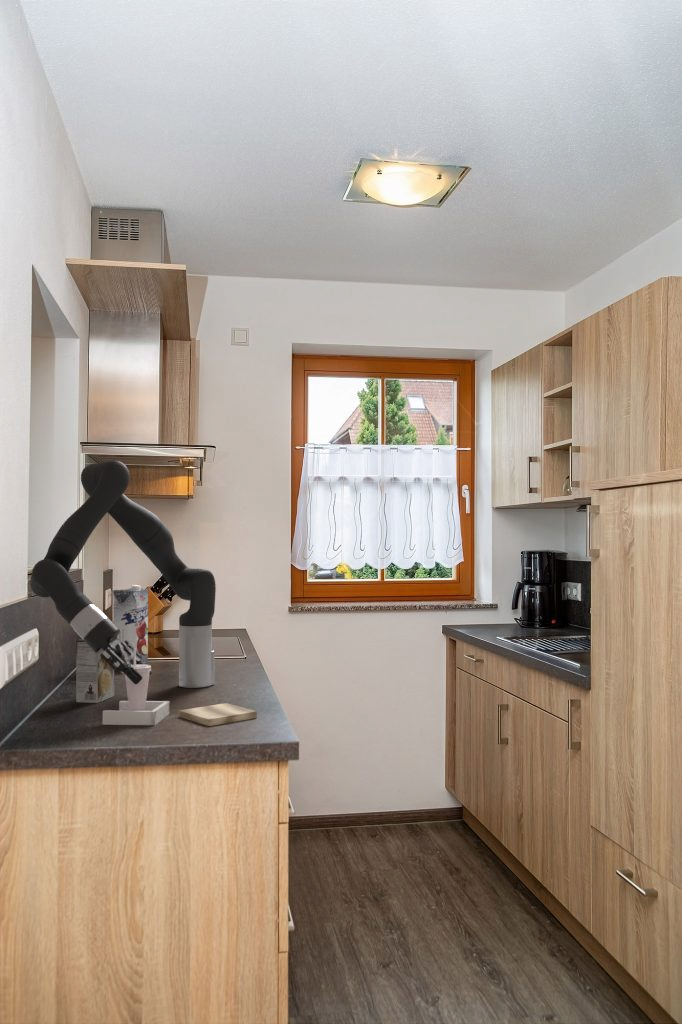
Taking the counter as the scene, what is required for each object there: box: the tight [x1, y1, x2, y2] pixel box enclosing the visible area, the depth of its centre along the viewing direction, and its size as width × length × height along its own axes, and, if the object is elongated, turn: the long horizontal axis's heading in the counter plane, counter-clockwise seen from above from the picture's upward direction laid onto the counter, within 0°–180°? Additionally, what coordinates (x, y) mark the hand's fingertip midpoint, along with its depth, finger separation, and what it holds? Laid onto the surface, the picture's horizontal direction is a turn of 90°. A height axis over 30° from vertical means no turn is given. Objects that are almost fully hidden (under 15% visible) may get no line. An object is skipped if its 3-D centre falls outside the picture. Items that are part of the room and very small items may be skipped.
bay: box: [102, 700, 171, 726], centre depth 191 cm, size 12×12×3 cm
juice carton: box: [112, 584, 149, 665], centre depth 265 cm, size 9×10×27 cm
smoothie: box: [124, 648, 152, 710], centre depth 192 cm, size 6×6×14 cm
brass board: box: [178, 702, 258, 727], centre depth 193 cm, size 13×13×2 cm
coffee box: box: [75, 638, 115, 704], centre depth 215 cm, size 9×6×16 cm
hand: (144, 678), depth 191 cm, fingers closed on smoothie, 6 cm apart
